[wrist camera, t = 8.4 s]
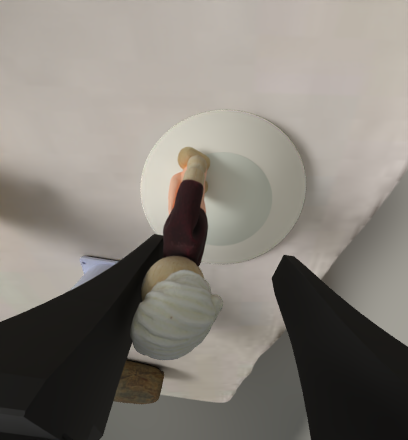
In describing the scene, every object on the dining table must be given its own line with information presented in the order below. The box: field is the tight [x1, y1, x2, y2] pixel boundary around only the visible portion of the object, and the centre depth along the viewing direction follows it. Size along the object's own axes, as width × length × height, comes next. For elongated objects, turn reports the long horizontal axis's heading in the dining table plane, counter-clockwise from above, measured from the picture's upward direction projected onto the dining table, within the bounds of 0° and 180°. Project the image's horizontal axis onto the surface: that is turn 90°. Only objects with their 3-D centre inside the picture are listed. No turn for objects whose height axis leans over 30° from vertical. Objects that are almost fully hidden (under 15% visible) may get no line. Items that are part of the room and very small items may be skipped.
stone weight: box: [113, 361, 164, 404], centre depth 37 cm, size 15×7×7 cm, turn 76°
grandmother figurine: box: [131, 147, 223, 360], centre depth 10 cm, size 8×4×13 cm, turn 4°
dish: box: [140, 110, 306, 264], centre depth 17 cm, size 16×16×1 cm
